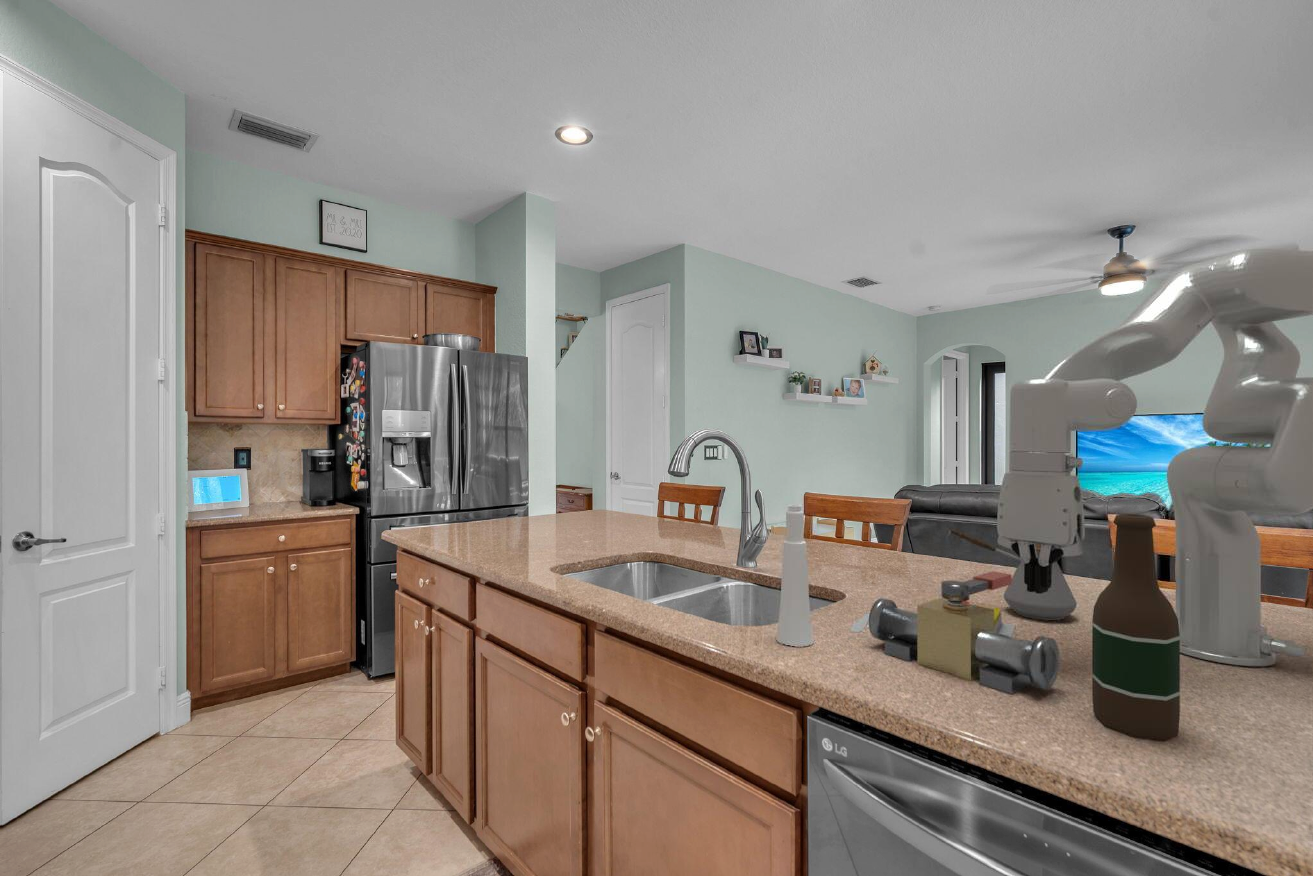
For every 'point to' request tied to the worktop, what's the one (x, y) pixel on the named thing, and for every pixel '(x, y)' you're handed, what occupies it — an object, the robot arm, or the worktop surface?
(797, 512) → the cosmetic bottle
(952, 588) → the lever
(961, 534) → the coffee pot
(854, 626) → the butter knife
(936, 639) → the valve
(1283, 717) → the worktop surface
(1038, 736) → the worktop surface
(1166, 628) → the beer bottle
